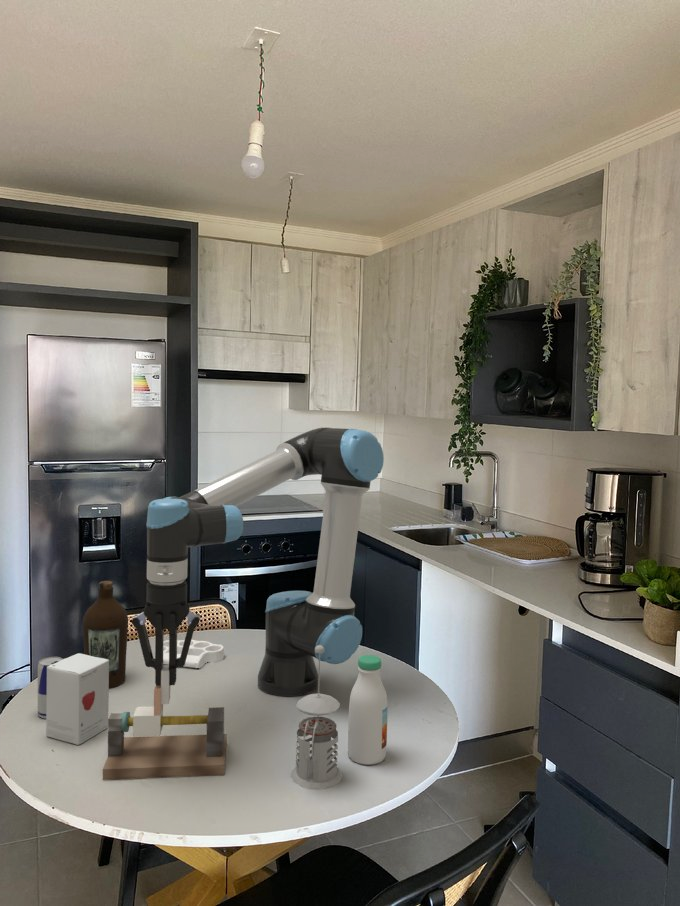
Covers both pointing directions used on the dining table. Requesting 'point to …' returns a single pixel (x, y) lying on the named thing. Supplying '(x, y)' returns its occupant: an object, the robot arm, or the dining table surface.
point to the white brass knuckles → (196, 653)
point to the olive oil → (107, 632)
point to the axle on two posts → (166, 749)
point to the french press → (317, 741)
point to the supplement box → (77, 698)
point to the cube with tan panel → (149, 717)
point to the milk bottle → (368, 714)
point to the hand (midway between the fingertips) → (165, 700)
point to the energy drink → (44, 683)
